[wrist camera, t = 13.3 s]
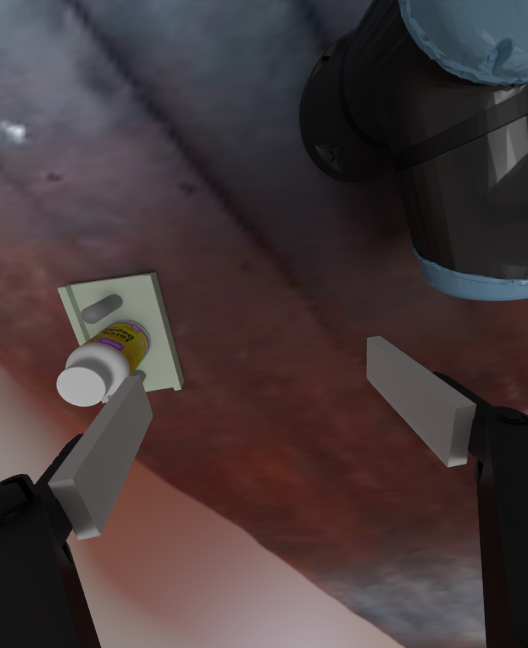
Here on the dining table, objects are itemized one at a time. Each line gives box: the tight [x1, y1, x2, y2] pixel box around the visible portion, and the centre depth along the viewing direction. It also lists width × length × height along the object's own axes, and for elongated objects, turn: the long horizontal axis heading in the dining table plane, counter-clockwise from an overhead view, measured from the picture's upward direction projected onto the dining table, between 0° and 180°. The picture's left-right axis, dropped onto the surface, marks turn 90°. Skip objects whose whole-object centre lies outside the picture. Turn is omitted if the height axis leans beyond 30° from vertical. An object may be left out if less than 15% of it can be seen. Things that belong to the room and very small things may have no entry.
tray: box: [57, 272, 184, 403], centre depth 37 cm, size 18×12×8 cm, turn 7°
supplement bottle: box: [57, 321, 150, 406], centre depth 33 cm, size 7×7×13 cm
